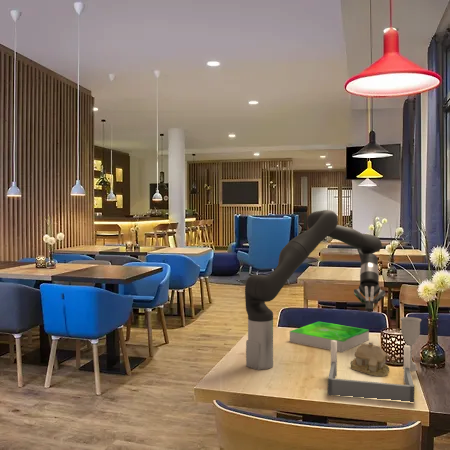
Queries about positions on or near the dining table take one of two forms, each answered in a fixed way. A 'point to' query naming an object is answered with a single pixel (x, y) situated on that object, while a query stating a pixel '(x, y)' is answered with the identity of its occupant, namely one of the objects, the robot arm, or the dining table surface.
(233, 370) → the dining table surface
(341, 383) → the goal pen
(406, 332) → the chalice
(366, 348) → the ceramic model
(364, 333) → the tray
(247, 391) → the dining table surface
